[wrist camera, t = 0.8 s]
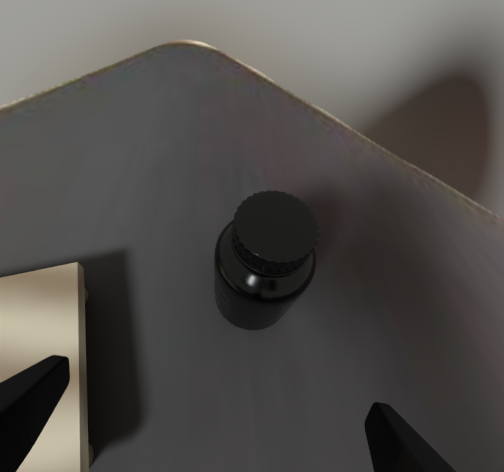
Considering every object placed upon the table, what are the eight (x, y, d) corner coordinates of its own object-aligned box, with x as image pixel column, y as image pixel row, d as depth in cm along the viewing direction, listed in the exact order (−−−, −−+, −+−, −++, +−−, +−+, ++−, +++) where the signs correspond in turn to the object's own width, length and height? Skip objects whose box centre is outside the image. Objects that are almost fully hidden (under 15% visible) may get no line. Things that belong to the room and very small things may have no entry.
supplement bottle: (272, 253, 27) (310, 169, 17) (297, 318, 24) (363, 264, 14) (205, 269, 25) (202, 185, 15) (224, 342, 22) (236, 300, 12)
